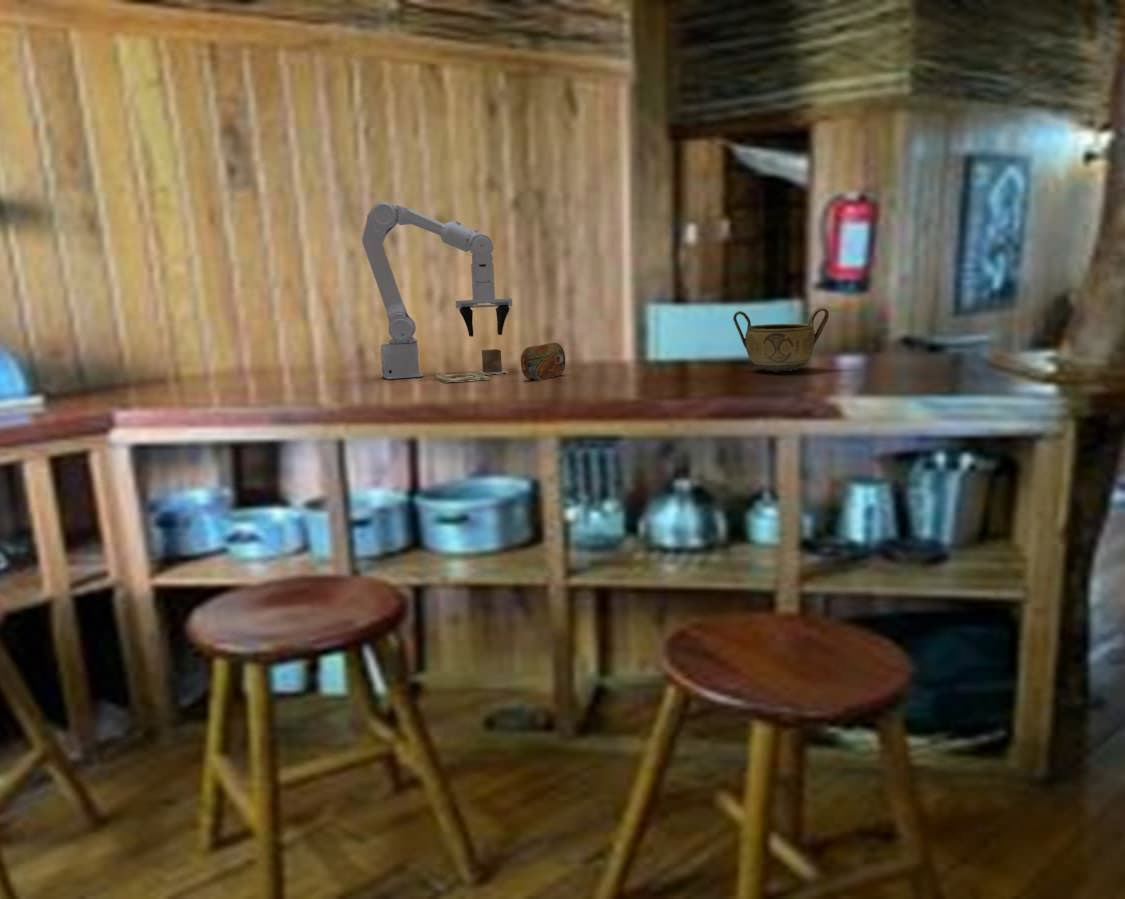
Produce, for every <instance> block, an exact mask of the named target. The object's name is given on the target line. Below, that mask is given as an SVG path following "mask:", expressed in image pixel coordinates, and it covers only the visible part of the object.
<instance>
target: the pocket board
mask: <svg viewBox="0 0 1125 899" xmlns="http://www.w3.org/2000/svg"><path fill="white" fill-rule="evenodd" d="M466 376H473V377H468V378H456V377H466ZM435 378H436V379H435ZM451 378H455V379H451ZM434 379H435V380H437V379H438V380H437V381H439V380H440V381H439V382H441V381H443V382H445V383H447V382H460V381H469V380H489V381H490V377H489V376H485V375H482V374H480V373H476V372H470V373H456V374H454V373H453V374H442V375H441V374H439V375H434ZM443 382H442V383H443ZM445 383H444V384H445Z"/></svg>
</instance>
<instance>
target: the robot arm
mask: <svg viewBox="0 0 1125 899" xmlns="http://www.w3.org/2000/svg"><path fill="white" fill-rule="evenodd" d="M397 224H398V225H399V226H405V225H413V226H415V227H417V228H420V229H422V230H425V231H428V232H431V233H432V234H436V235H439V237H440V239H441V241H442V243H444V244H446V245H448V246H450V247H453V248H456V249H458V250H461V251H463V252H465V253H467V252H470V253H471V264H470V267H471V268H470V270H471V289H472V290H471V292H472V299H467V300H455V309H459V310H458V311H459V313H460V315H461V317H462V318H463V320H464V324H465V326H466V328H467V332H468V336H469V337H474V326H473V320H474V319H473V318H474V317H473V314H474V313H473V312H474V311H473V309H472V308H476V309H477V308H494V307H495V312H496V313H495V314H496V322H497V323H496V324H497V325H496V326H497V327H496V328H497V329H496V330H497V335H499V336H502V335H503V330H504V326H505V321H506V319H507V316H508V313H509V312H510V307H513V298H509V297H507V298H496V293H495V292H496V290H495V271H494V270H495V269H494V263H493V261H494V257H493V254H492V253H493V251H494V244H493V241H492V239H491V238H490V237H489V236H488V235H486V234H484V233H483V234H482V233H480V234H478V233H479V229H478V230H477V229H471V228H469V227H466V226H464V225H462V224H461V222H460V221H457V220H456V221H455V222H454V221H453V220H451V221H448V222H446V223H442V222H440V221H439V220H437V219H434V218H431V217H429V216H427V215H425V214H423V213H420V212H418V211H416V210H414V209H411V208H409V207H406V206H401V205H398V204H393V205H392V204H391V203H390V202H388V201H379V202H377V203H375V204H374V205H373V207H372V208H371V209H370V211H369V212H368V213H367V216H366V221H365V227H364V229H363V235H362V240H361V242H362V245H363V248H364V251H365V254H366V257H367V260H368V262H369V264H370V265H369V266H370V268H371V271H372V275H373V276H374V278H375V280H374V281H375V282H376V283H375V284H376V285H377V288H378V290H379V293H380V296H381V298H382V302H383V304H384V308H385V312H386V315H387V316H386V317H387V319H388V335H389V336H390V338H391V339H389V340H388V343H383V344H381V346H380V359H381V361H380V362H381V373H382V375H381V376H383V377H382V378H384V379H385V378H386V379H385V380H395V379H397V380H399V379H410V378H422V376H423V377H424V375H423V374H422V373H420V364H419V362H420V361H419V348H418V339H416V338H415V337H414V335H415V333H416V324H415V323H416V322H415V321H414V320H413V318H412V317H410V315H409V314H408V311H407V308H406V306H405V304H404V302H403V299H402V296H401V293H400V291H399V288H398V285H397V282H396V279H395V277H394V274H393V273H394V272H393V270H392V269H391V268H392V267H391V265H390V263H389V259H388V256H387V253H386V251H385V247H384V245H383V243H384V242H385V240H386V237H387V236H388V233H389V232H390V231H391V230H393V229H394V227H396V226H397ZM479 304H481V305H479Z"/></svg>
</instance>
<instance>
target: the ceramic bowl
mask: <svg viewBox="0 0 1125 899" xmlns="http://www.w3.org/2000/svg"><path fill="white" fill-rule="evenodd" d="M820 312H824V315H823V319H822V321H821V322H820V324H819V326H818V327H817V330H816V331H815V329H814V321H815V318H816V317H817V315H818V314H819V313H820ZM738 315H742V316H743V317H744V319H745V320H746V322H747V328H746V332H745V335H744V333H743V332H742V329H741V327H740V324H739V322H738V319H737V317H738ZM829 316H830V313H829V310H828V309H827V308H826V307H817V308H816V309H815V310H814V311H812V313H811V314H810V317H809V319H808V324H807V323H771V324H769V323H768V324H767V323H766V324H755V325H754V324H753V325H752V324H751V320H750V317H749V316H748V314H747V313H746V312H744V311H742V310H739V311H736V312H735V313H734V314H733V318H732V320H733V322H734V324H735V325H734V326H735V327H736V329H737V332H738V334H739V336H740V339H741V341H742V344H743V346H744V348H745V351H746V353H747V355H748V358H749V360H750V361H751V362H752V363H753V364H754V365H755V366H756V367H758V368H759V369H761V370H764V371H766V372H768V371H773V372H772V373H780V372H779V371H791V370H794V371H796V370H798V369H800V368H801V367H803V366H804V365H805V364H806V363H807V362H809V360H810V359H811V357H812V354H813V352H814V348H815V345H816V343H817V341H818V339H819V338H820V335H821V334H822V333H823V330H824V327H825V326H826V324H827V322H828V320H829ZM791 372H792V371H791Z"/></svg>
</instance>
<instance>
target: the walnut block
mask: <svg viewBox="0 0 1125 899" xmlns="http://www.w3.org/2000/svg"><path fill="white" fill-rule="evenodd" d="M481 360H482V361H481V363H482V371H484V372H486V373H490V372H502V370H503V366H502V365H503V364H502V350H500V349H498V348H495V349H482V350H481Z"/></svg>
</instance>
